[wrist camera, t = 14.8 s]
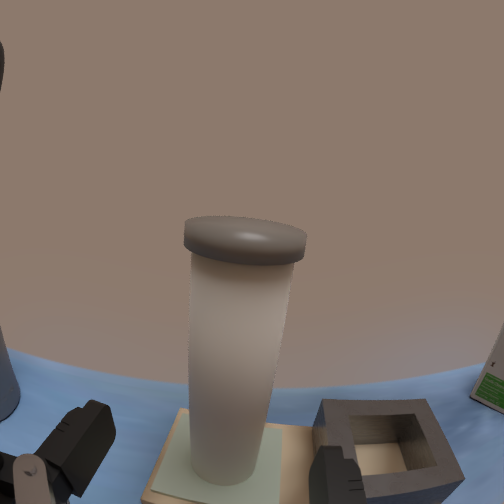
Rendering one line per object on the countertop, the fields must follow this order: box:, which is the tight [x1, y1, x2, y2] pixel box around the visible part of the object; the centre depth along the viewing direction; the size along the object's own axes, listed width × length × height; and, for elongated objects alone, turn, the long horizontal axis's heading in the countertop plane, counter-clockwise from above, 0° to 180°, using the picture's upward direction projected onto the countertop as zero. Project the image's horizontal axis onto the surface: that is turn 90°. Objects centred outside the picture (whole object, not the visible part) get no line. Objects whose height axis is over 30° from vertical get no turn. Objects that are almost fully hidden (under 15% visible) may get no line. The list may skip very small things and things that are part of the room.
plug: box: [184, 216, 307, 486], centre depth 17 cm, size 6×6×18 cm
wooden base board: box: [141, 399, 465, 504], centre depth 18 cm, size 23×11×5 cm, turn 84°
